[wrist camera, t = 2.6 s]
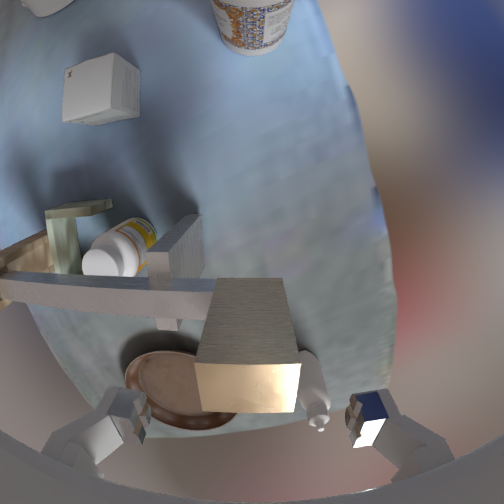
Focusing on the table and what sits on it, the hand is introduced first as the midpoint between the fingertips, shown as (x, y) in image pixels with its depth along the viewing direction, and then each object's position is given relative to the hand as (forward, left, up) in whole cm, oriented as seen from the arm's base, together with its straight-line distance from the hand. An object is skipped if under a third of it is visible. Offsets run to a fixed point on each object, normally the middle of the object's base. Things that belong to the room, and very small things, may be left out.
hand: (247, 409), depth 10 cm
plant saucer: (+23, -10, -23) cm, 34 cm away
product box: (-17, -15, -23) cm, 33 cm away
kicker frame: (0, -20, -23) cm, 31 cm away
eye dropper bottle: (+18, +8, -23) cm, 30 cm away
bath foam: (-24, 0, -23) cm, 33 cm away
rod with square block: (0, -11, -22) cm, 25 cm away
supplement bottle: (0, -13, -23) cm, 27 cm away
